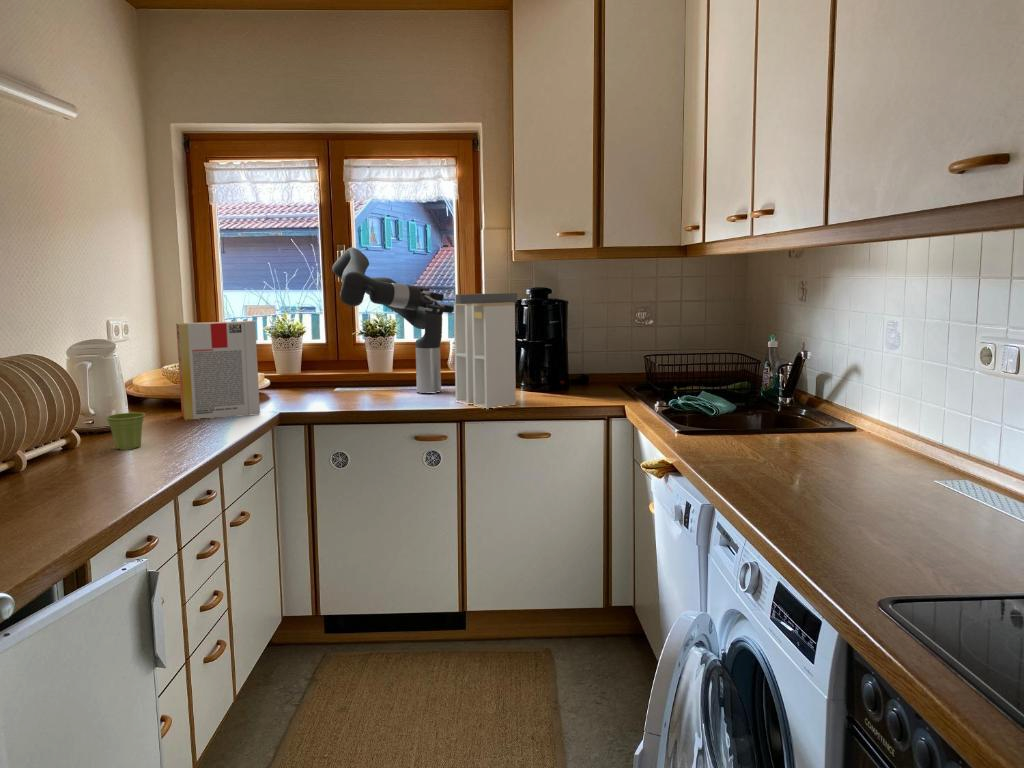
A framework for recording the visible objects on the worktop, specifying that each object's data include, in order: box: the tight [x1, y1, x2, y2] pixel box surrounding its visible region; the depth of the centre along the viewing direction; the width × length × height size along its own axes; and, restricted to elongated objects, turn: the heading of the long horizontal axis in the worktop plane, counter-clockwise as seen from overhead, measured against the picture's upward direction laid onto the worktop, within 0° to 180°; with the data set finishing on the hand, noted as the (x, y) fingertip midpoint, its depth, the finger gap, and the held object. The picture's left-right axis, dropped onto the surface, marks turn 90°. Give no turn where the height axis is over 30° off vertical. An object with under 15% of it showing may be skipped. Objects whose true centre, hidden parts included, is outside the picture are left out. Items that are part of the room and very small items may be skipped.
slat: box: [455, 292, 518, 304], centre depth 275 cm, size 23×3×3 cm, turn 127°
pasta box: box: [175, 320, 261, 420], centre depth 266 cm, size 23×8×30 cm, turn 117°
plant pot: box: [105, 412, 146, 451], centre depth 218 cm, size 9×9×9 cm
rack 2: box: [472, 302, 517, 410], centre depth 279 cm, size 12×8×35 cm, turn 127°
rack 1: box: [453, 301, 473, 403], centre depth 288 cm, size 12×8×35 cm, turn 127°
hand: (447, 303), depth 268 cm, fingers open, 8 cm apart
